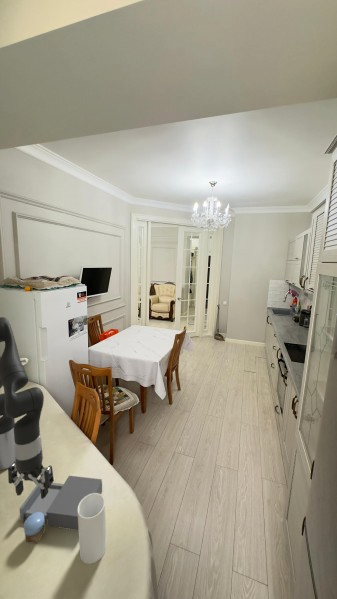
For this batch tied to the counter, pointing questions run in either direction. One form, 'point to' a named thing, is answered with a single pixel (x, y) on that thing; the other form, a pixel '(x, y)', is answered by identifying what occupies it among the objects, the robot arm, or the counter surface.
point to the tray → (39, 501)
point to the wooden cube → (35, 536)
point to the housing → (71, 501)
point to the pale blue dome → (34, 523)
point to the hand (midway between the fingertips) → (32, 494)
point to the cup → (92, 527)
